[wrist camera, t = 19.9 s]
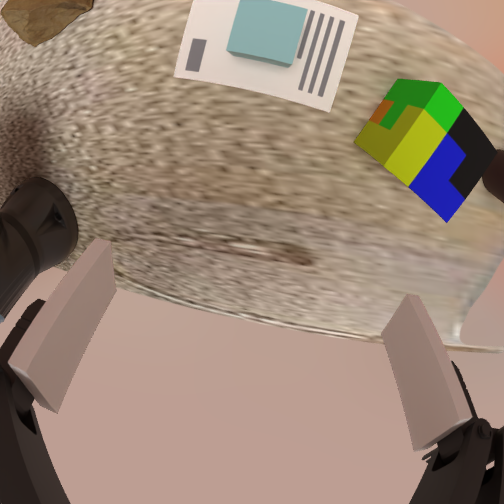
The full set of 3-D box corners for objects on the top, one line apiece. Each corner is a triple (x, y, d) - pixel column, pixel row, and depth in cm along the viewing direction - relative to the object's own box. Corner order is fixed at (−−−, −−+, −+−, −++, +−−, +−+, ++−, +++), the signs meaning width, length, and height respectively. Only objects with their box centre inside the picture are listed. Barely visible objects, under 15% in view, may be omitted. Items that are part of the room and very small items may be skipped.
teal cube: (233, 56, 26) (225, 50, 21) (246, 9, 23) (241, -6, 18) (287, 68, 27) (292, 64, 22) (300, 21, 23) (307, 9, 18)
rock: (100, -28, 17) (41, -24, 14) (56, 0, 14) (-3, 7, 11) (96, 35, 27) (44, 32, 24) (63, 71, 24) (10, 67, 21)
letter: (173, 77, 28) (173, 77, 27) (200, -21, 20) (200, -21, 20) (329, 112, 29) (329, 112, 29) (358, 15, 22) (359, 15, 22)
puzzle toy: (409, 187, 33) (446, 223, 25) (353, 141, 31) (383, 166, 22) (450, 130, 28) (497, 152, 20) (397, 78, 26) (441, 82, 18)
